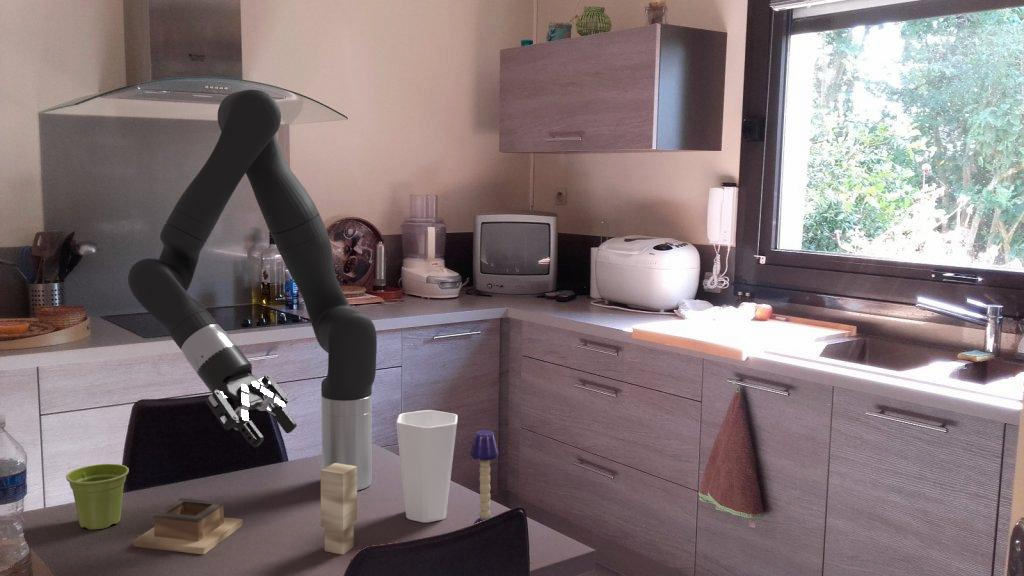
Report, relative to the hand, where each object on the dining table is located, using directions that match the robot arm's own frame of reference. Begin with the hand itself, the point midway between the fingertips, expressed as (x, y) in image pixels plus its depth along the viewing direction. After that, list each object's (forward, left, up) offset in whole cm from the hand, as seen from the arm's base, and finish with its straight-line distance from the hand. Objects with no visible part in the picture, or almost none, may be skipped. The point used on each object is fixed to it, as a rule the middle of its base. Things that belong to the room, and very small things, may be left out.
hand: (276, 436), depth 143 cm
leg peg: (+2, +11, -17) cm, 20 cm away
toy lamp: (-11, +31, -17) cm, 37 cm away
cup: (-15, +20, -17) cm, 30 cm away
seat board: (+3, -14, -17) cm, 22 cm away
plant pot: (+2, -31, -17) cm, 35 cm away
